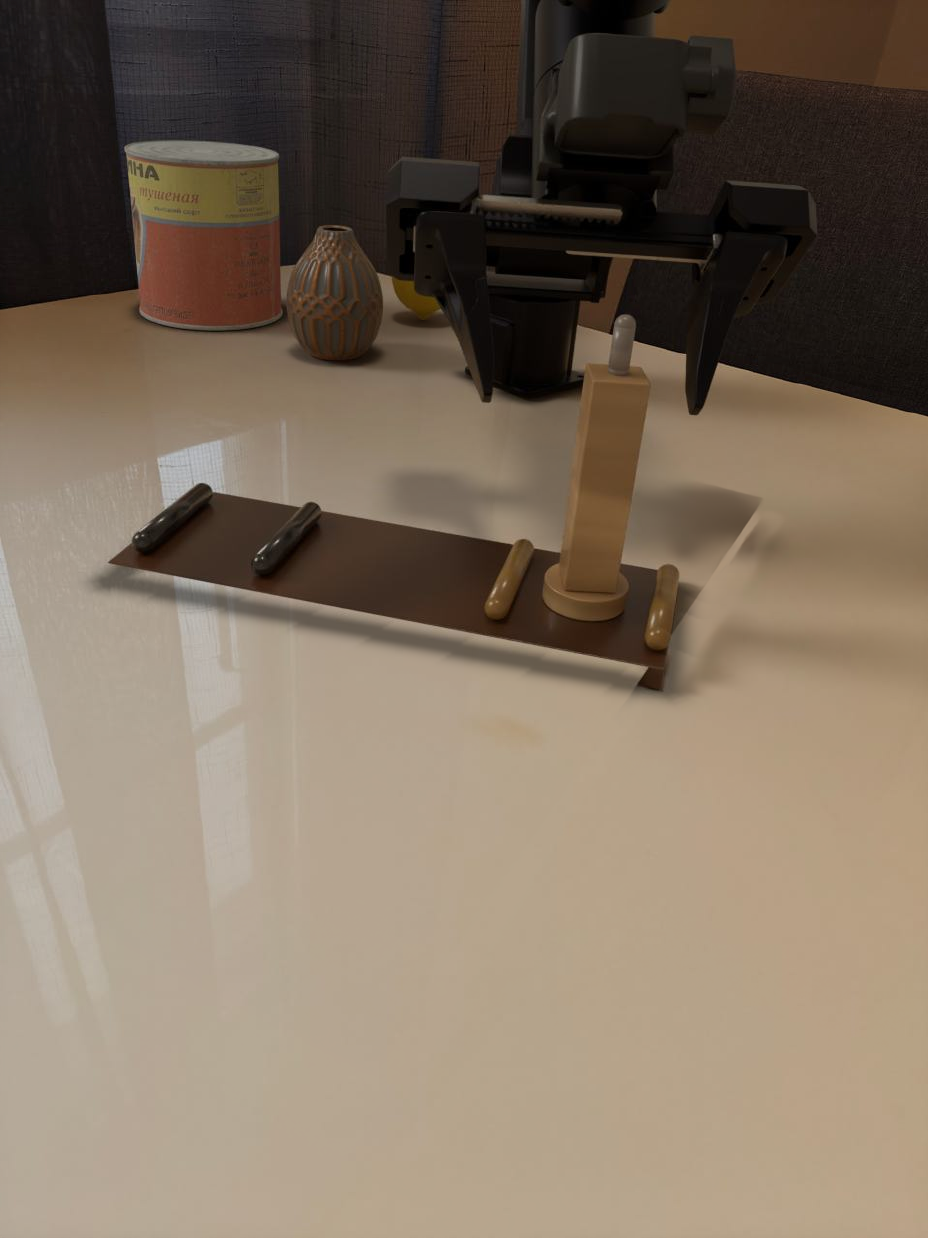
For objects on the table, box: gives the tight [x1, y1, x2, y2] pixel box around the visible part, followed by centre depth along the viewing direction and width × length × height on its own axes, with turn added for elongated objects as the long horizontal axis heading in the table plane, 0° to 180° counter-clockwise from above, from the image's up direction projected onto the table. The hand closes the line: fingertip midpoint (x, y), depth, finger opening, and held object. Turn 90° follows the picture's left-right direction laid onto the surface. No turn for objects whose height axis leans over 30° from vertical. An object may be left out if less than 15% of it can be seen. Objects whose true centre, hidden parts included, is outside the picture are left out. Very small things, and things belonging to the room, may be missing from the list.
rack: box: [107, 482, 680, 690], centre depth 45 cm, size 24×8×2 cm, turn 76°
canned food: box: [124, 139, 284, 332], centre depth 79 cm, size 11×11×12 cm
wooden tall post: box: [542, 313, 652, 621], centre depth 41 cm, size 4×4×12 cm
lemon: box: [391, 276, 441, 321], centre depth 83 cm, size 6×6×8 cm
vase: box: [286, 224, 384, 361], centre depth 73 cm, size 7×7×9 cm
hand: (592, 405), depth 44 cm, fingers open, 9 cm apart
